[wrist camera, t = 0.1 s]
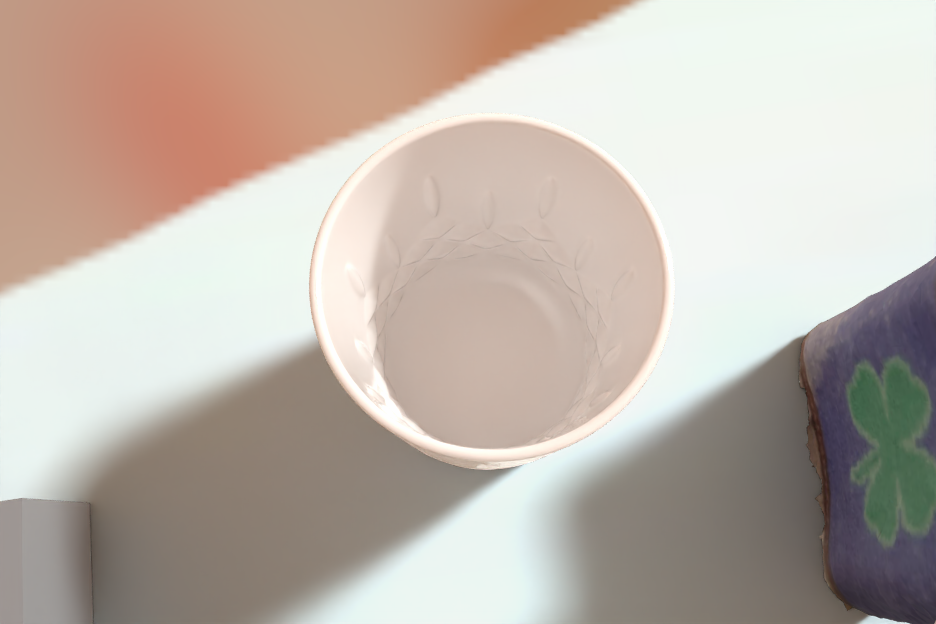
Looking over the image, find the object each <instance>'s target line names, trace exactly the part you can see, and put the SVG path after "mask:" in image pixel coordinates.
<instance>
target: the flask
mask: <svg viewBox="0 0 936 624" xmlns="http://www.w3.org/2000/svg"><path fill="white" fill-rule="evenodd" d="M799 365H800V370H799V372H800V373H799V377H798V379H799V381H800V383H799V385H800V387H801V388H805V390H806V392H805V393H806V395H807V398H808V402H807V404H808V412H809V413H810V414H809V417H808V420H809V421H810V422H809V424H810V425H809V426H808V427H807V434H808V443H807V444H806V446H807V447H808V449H809V451H810V461H811V462H812V464H813V466H812V467H816V473H818V475H819V477H820V479H821V480H822V483H821V484H822V493H821V494H820V495H819V496H818V497H816V498H815V499H816V500H817V501H818V502H819V506H820V507H821V509H822V512H823V514H824V521H825V525H824V528H823V532H822V535H820V536H819V538H821V539H822V544H823V556H822V558H823V564H824V573H823V575H824V580H825V582H826V583H827V584H828V585H829V588H830V589H831V590H832V591H833V593H834V594H836V595H837V597H838V598H839V599H840V600H842V601H843V603H844V605H845V607H846V610H847V611H848V610H849V609H851V608H853V607H854V608H856V609H859V610H861V611H863V612H864V613H866V614H868V615H871V616H876V617H878V618H886V619H890V620H893V621H897V622H907V623H910V624H935V621H936V257H935V258H933V259H932V260H931V261H929V262H928V263H927V264H925V265H924V266H922V267H920V268H919V269H917V270H915V271H914V272H912V273H911V274H909V275H907V276H906V277H904V278H902V279H900V280H898V281H897V282H895V283H893V284H892V285H890V286H889V287H887V288H886V289H884V290H882V291H880V292H878V293H876V294H873V295H871V296H869V297H867V298H866V299H864V300H863V301H861V302H860V303H858V304H857V305H855V306H854V307H852V308H850V309H848V310H846V311H845V312H842V313H840V314H838V315H837V316H835V317H833V318H831V319H829V320H827V321H825V322H822V323H820V324H818V325H817V326H816V327H815V328H814V329H812V330H811V331H810V332H809V333H808V334H807V336H806V337H805V339H804V340H803V342H802V345H801V355H800V360H799Z"/></svg>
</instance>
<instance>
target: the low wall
mask: <svg viewBox="0 0 936 624" xmlns="http://www.w3.org/2000/svg"><path fill="white" fill-rule="evenodd" d="M0 624H93V599H92V565H91V531H90V503H83V502H69V501H56V500H42V499H28V498H19V499H13V500H7V501H0Z"/></svg>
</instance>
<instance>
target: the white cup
mask: <svg viewBox="0 0 936 624" xmlns="http://www.w3.org/2000/svg"><path fill="white" fill-rule="evenodd" d="M309 295H310V307H311V314H312V319H313V324H314V328H315V332H316V335H317V338H318V341H319V344H320V347H321V349H322V352H323V354H324V356H325V358H326V360H327V362H328V364H329V366H330V368H331V370H332V372H333V373H334V375H335V377H336V378H337V380H338V381H339V383H340V384H341V385H342V387H343V388H344V389H345V391H346V392H347V393H348V395H349V396H350V397H351V398H352V399H353V400H354V402H355V403H356V404H357V405H358V406H359V407H360V408H361V409H362V410H363V411H364V412H365V413H366V414H368V415H369V416H370V417H371V418H372V419H373V420H375V421H376V422H377V423H378V424H380V425H381V426H382V427H384V428H385V429H387V430H388V431H390V432H391V433H393V434H395V435H396V436H398V437H399V438H400V439H402V440H403V441H404V442H406V443H407V444H409V445H410V446H412V447H414V448H415V449H417V450H419V451H420V452H422V453H424V454H426V455H427V456H430V457H432V458H434V459H437V460H439V461H442V462H445V463H448V464H451V465H454V466H459V467H464V468H470V469H480V470H493V469H503V468H510V467H515V466H520V465H524V464H527V463H531V462H534V461H536V460H538V459H541V458H543V457H546V456H547V455H550V454H552V453H554V452H556V451H558V450H561V449H563V448H566V447H568V446H570V445H572V444H574V443H577V442H579V441H580V440H582V439H584V438H586V437H588V436H589V435H591V434H593V433H594V432H596V431H597V430H599V429H600V428H602V427H603V426H604V425H606V424H607V423H608V422H609V421H611V420H612V419H613V418H614V417H615V416H617V415H618V414H619V413H620V412H621V411H622V410H623V409H624V408H625V407H626V406H627V405H628V404H629V403H630V402H631V400H632V399H633V398H634V397H635V396H636V395H637V393H638V392H639V391H640V389H641V388H642V387H643V385H644V384H645V382H646V381H647V379H648V378H649V376H650V375H651V373H652V371H653V369H654V368H655V366H656V364H657V362H658V360H659V357H660V355H661V353H662V350H663V348H664V345H665V342H666V339H667V336H668V332H669V328H670V324H671V319H672V313H673V305H674V273H673V264H672V258H671V253H670V249H669V245H668V242H667V238H666V235H665V232H664V230H663V227H662V224H661V222H660V220H659V218H658V215H657V213H656V211H655V209H654V208H653V206H652V204H651V202H650V201H649V199H648V198H647V196H646V194H645V193H644V192H643V190H642V189H641V187H640V186H639V185H638V183H637V182H636V181H635V180H634V179H633V177H632V176H631V175H630V174H629V173H628V172H627V171H626V170H625V169H624V168H623V167H622V166H621V165H620V164H619V163H618V162H617V161H616V160H615V159H614V158H612V157H611V156H610V155H609V154H608V153H606V152H605V151H604V150H602V149H601V148H600V147H598V146H597V145H595V144H594V143H592V142H590V141H589V140H587V139H585V138H584V137H582V136H580V135H578V134H576V133H574V132H572V131H570V130H568V129H565V128H563V127H560V126H558V125H555V124H552V123H549V122H546V121H543V120H539V119H535V118H531V117H526V116H520V115H513V114H501V113H480V114H468V115H461V116H455V117H450V118H446V119H442V120H438V121H435V122H432V123H429V124H426V125H423V126H421V127H418V128H416V129H414V130H412V131H409V132H407V133H405V134H403V135H401V136H400V137H398V138H396V139H394V140H393V141H391V142H389V143H388V144H386V145H385V146H383V147H382V148H381V149H379V150H378V151H377V152H375V153H374V154H373V155H372V156H370V157H369V158H368V159H367V160H366V161H365V162H364V163H363V164H362V165H361V166H360V167H359V168H358V169H357V170H356V171H355V172H354V173H353V174H352V175H351V176H350V177H349V179H348V180H347V181H346V182H345V184H344V185H343V186H342V188H341V189H340V190H339V192H338V193H337V195H336V196H335V198H334V200H333V201H332V203H331V205H330V207H329V209H328V211H327V213H326V215H325V217H324V219H323V221H322V224H321V226H320V229H319V232H318V235H317V238H316V241H315V245H314V249H313V254H312V259H311V266H310V277H309Z"/></svg>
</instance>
